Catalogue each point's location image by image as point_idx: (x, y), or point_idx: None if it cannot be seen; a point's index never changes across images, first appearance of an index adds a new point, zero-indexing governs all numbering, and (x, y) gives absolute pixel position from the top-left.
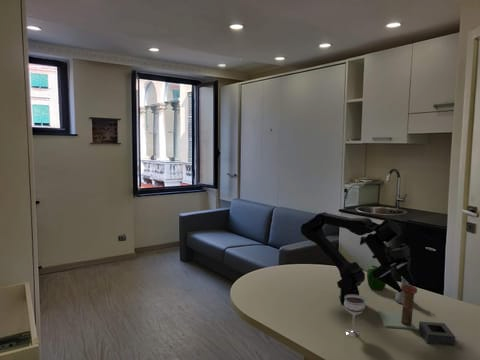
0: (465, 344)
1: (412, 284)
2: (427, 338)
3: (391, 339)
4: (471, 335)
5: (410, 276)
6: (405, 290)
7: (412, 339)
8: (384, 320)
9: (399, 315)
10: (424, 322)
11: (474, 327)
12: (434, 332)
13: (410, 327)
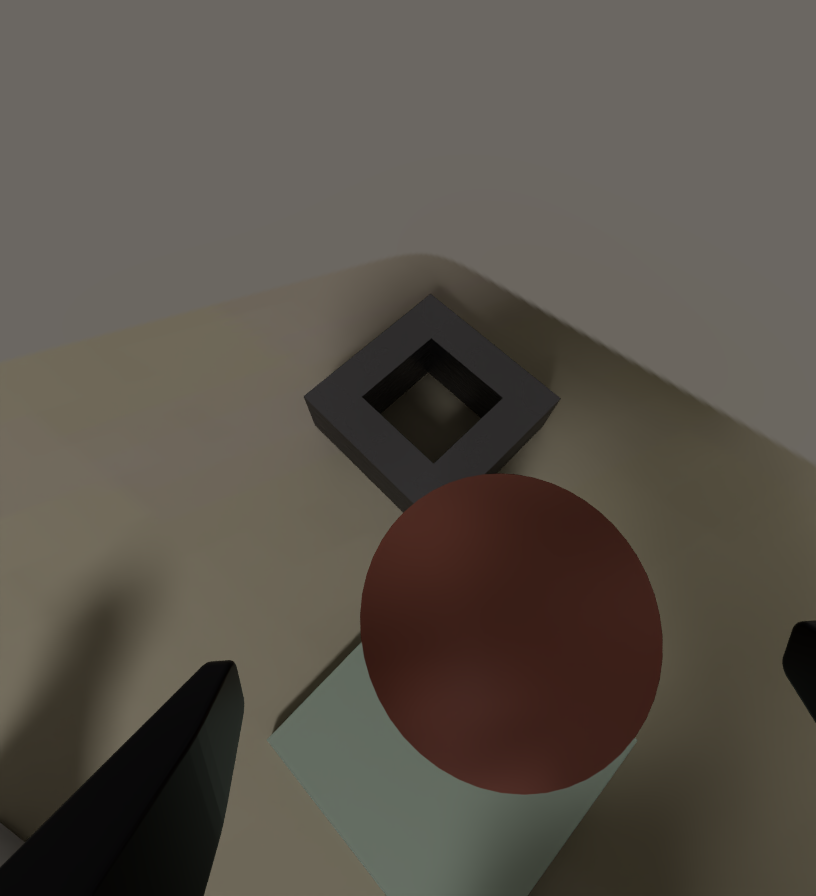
0: (363, 303)
1: (239, 691)
2: (548, 415)
3: (725, 593)
4: (230, 316)
5: (130, 826)
6: (650, 620)
7: None
8: (570, 799)
9: (362, 759)
10: (416, 489)
11: (107, 337)
12: (495, 384)
13: None
